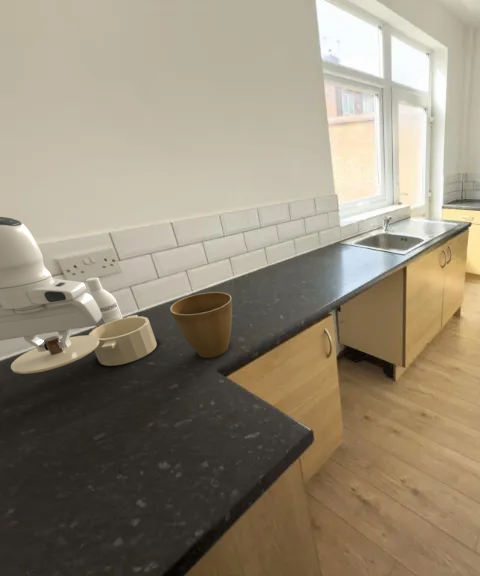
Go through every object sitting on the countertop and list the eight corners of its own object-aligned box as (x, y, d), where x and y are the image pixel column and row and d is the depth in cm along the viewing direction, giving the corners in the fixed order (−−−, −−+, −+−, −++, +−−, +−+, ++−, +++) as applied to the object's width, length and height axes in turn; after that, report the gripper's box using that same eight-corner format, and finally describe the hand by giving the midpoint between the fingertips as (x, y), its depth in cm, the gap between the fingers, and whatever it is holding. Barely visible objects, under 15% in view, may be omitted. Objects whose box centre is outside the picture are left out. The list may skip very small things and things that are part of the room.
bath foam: (102, 335, 104) (78, 278, 96) (128, 329, 107) (107, 273, 100) (100, 344, 98) (74, 284, 91) (128, 337, 102) (105, 279, 94)
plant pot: (183, 372, 84) (165, 319, 78) (188, 345, 97) (173, 297, 91) (243, 357, 90) (231, 306, 84) (241, 334, 102) (230, 288, 96)
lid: (-6, 383, 65) (-17, 364, 64) (39, 346, 78) (30, 329, 77) (82, 366, 70) (74, 348, 68) (110, 334, 83) (104, 318, 81)
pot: (85, 376, 83) (72, 349, 80) (115, 341, 100) (105, 317, 97) (145, 365, 88) (136, 338, 84) (164, 333, 104) (157, 309, 101)
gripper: (-50, 307, 62) (-14, 366, 67) (79, 291, 68) (102, 346, 74) (-24, 295, 68) (7, 350, 73) (92, 281, 74) (113, 333, 79)
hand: (55, 348), depth 73 cm, fingers closed on lid, 2 cm apart
